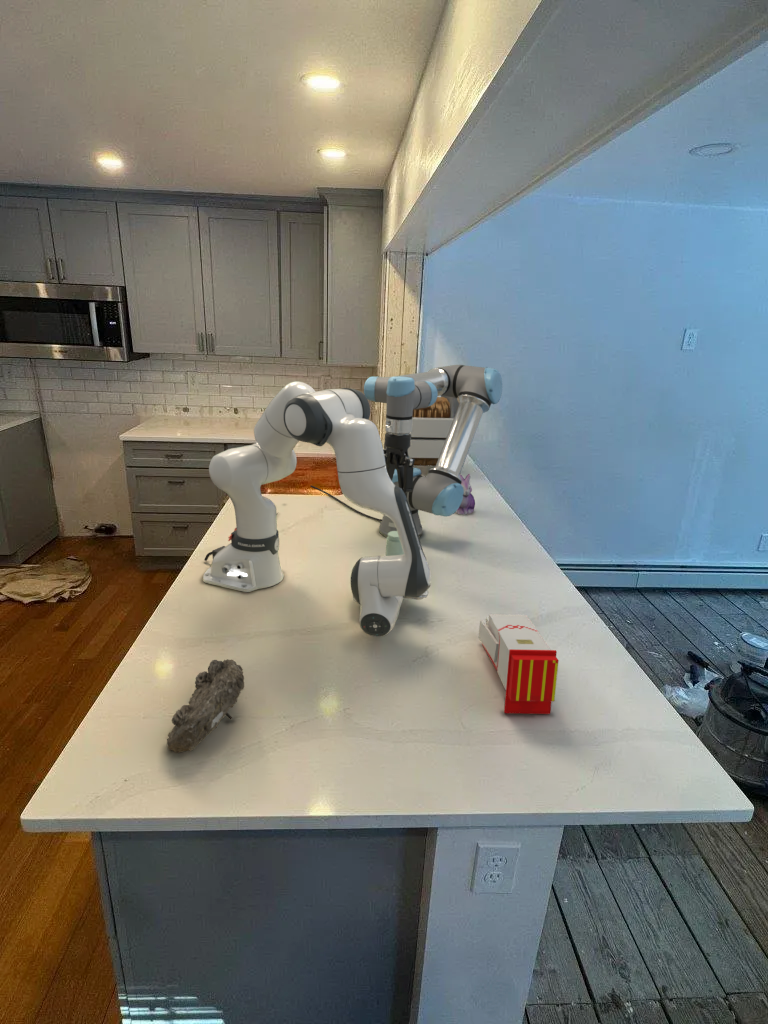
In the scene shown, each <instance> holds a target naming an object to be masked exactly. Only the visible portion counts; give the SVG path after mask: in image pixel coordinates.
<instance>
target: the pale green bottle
mask: <svg viewBox="0 0 768 1024" xmlns="http://www.w3.org/2000/svg"><path fill="white" fill-rule="evenodd" d="M385 538H386V540H385V541H386V542H385V556H392V555H402V554H404V552H403V549H402V545H401V542H400V539H399V535H398V532H397V531H391V532H389V533H388V537H385Z"/></svg>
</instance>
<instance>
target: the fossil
mask: <svg viewBox="0 0 768 1024" xmlns="http://www.w3.org/2000/svg"><path fill="white" fill-rule="evenodd" d="M243 670H244V669H243V667H242V665H240V664H237V662H236V661H235V660H234V659H232V658H231V659H227V658H226V659H224V660H223V661H222V660H217V659H212V660H211V661H210V663H209V665H208V666H207V671H201V672H199V673H198V674H197V675H196V676H195V680H194V684H195V685H194V687H195V689H194V690H193V693H192V694H191V697H190V698H189V700H188V704H184V705H182V706H181V707H180V709H177V710H176V711H175V713H174V715H173V716H172V718H171V723H172V724H173V727H172V730H171V731H170V732H168V734H167V738H166V741H167V742H166V745H167V749H168V750H169V751H173V752H174V753H176V754H178V753H182V752H188V751H189V752H192V751H193V750H195V748H196V747H197V746H199V744H200V743H201V742H203V741H204V740H205V739H206V738H207V737H208V736H209V735H210V734H211V733H212V732H214V730H215V729H217V727H218V726H219V724H220V722H221V721H222V720H223V719H224V718H225V716H226V717H227V719H229V720H233V717H232V715H230V714H229V710H230V709H231V708H234V706H235V704H236V703H237V702H238V699H239V697H240V695H241V693H242V691H243V690H245V689H244V688H245V675H244V671H243Z"/></svg>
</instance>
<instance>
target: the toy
mask: <svg viewBox="0 0 768 1024" xmlns="http://www.w3.org/2000/svg"><path fill="white" fill-rule="evenodd" d="M477 635H478V637H477V638H478V639H479V641H480V643H481V645H482V647H483V649H484V651H485V652H486V654H487V655H488V658H489V659H490V661H491V663H492V665H493V667H494V669H495V671H496V672H497V675H498V677H499V679H500V682H501V684H502V685H503V688H504V690H505V699H504V709H503V712H504V714H522V715H523V714H528V715H535V714H536V715H540V714H541V715H551V710H552V702H555V700H556V699H555V698H556V688H557V679H558V672H559V671H558V669H559V661H560V660H559V659H558V658H557V649H551V648H550V646H549V645H548V643H547V642H546V640H545V639H544V638H543V636H542V635H541V634H540V632H539V630H538V629H536V626H535V624H533V622H532V619H530V618H529V617H528V615H527V614H501V613H500V614H495V613H493V614H492V613H489V614H488V616H486V617H485V622H484V620H483V619H480V620H479V628H478V634H477Z"/></svg>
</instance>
